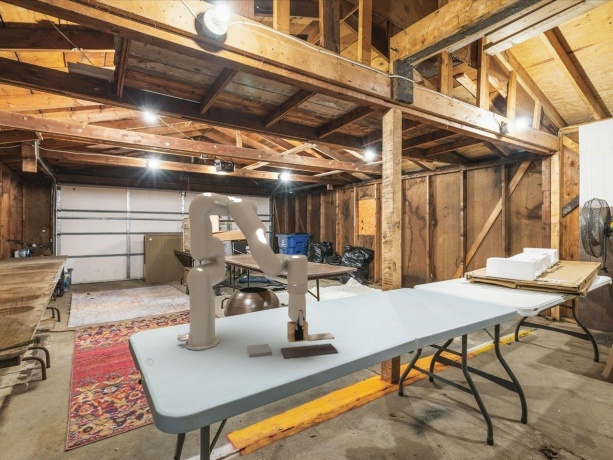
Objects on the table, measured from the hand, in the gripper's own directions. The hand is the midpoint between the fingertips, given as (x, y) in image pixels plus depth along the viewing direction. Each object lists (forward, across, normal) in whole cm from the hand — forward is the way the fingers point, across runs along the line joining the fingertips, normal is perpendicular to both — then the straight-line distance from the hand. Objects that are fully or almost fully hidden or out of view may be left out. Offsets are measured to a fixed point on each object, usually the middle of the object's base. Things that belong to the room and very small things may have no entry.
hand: (297, 337), depth 111 cm
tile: (+5, -8, -14) cm, 17 cm away
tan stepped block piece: (+1, 0, +5) cm, 5 cm away
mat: (+6, 0, +4) cm, 7 cm away
